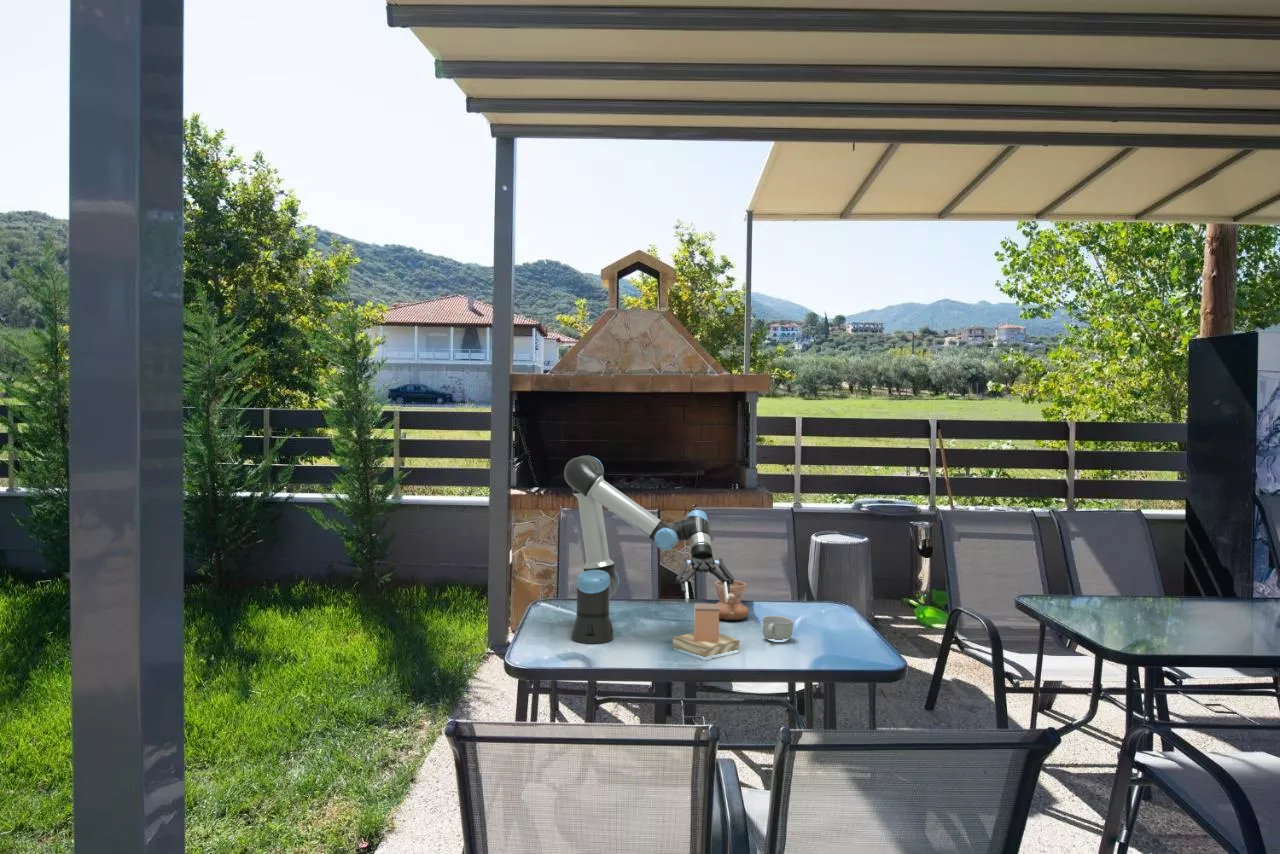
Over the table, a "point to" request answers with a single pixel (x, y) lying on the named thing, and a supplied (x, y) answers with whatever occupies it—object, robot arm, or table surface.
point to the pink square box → (706, 622)
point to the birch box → (705, 645)
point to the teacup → (777, 627)
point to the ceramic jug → (731, 601)
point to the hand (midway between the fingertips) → (707, 600)
